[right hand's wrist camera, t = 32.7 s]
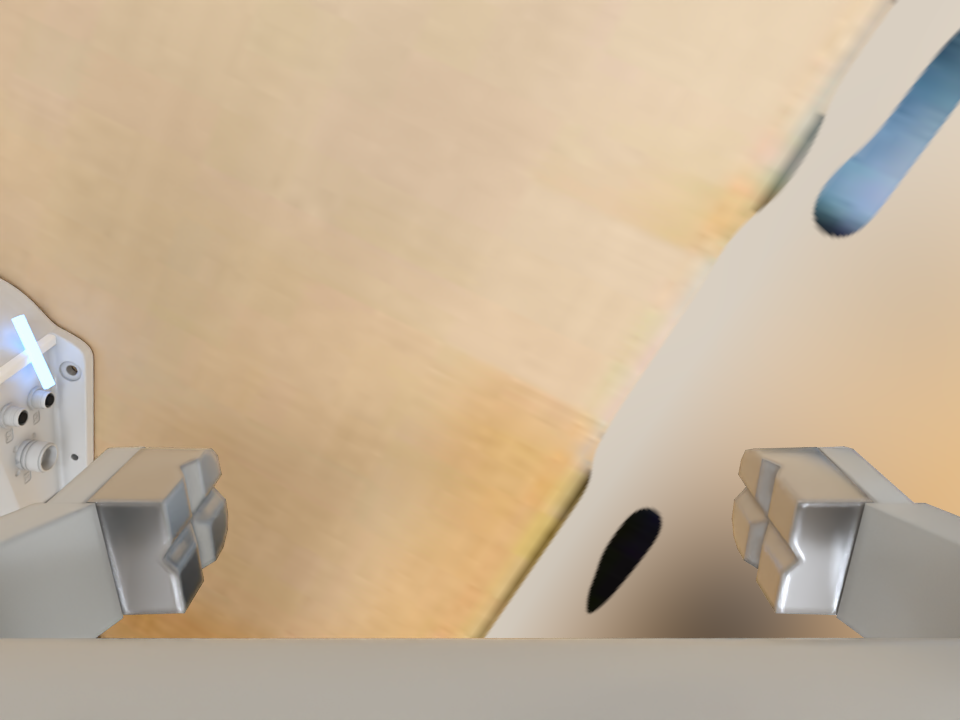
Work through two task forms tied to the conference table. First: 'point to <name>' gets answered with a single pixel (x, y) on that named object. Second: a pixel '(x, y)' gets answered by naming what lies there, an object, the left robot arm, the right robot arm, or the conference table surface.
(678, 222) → the conference table surface
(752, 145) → the conference table surface
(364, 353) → the conference table surface
